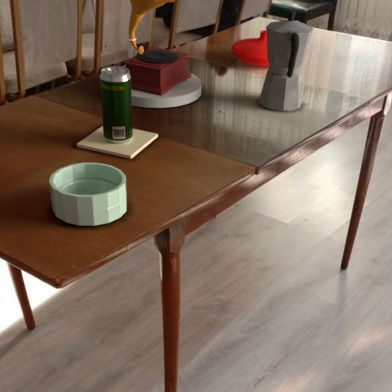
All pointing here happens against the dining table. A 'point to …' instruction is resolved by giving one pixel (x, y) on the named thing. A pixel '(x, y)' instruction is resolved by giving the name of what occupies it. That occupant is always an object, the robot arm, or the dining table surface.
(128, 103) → the beer can
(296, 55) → the coffeepot
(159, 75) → the gramophone
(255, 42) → the red disc with nozzle
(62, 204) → the bowl
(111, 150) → the coaster
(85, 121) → the dining table surface
